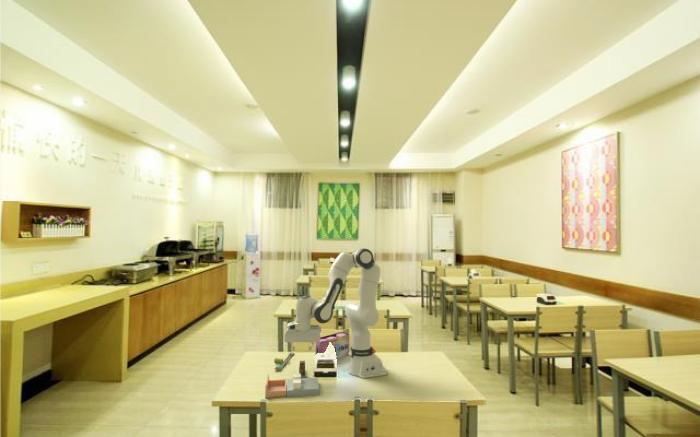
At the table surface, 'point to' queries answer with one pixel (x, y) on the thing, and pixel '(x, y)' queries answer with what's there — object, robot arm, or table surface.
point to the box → (275, 388)
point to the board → (303, 387)
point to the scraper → (302, 369)
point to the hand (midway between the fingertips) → (301, 349)
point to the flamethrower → (281, 362)
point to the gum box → (334, 344)
